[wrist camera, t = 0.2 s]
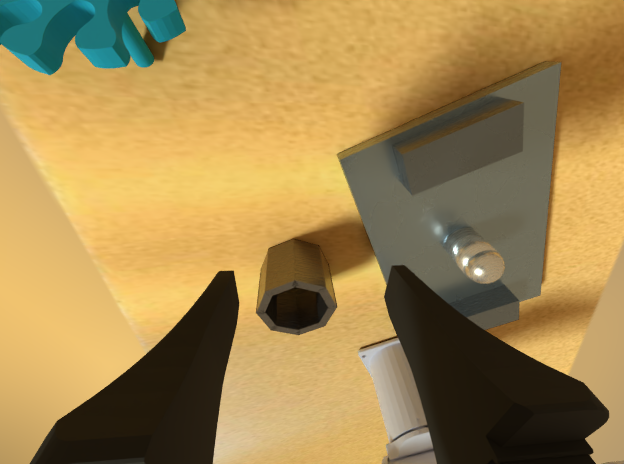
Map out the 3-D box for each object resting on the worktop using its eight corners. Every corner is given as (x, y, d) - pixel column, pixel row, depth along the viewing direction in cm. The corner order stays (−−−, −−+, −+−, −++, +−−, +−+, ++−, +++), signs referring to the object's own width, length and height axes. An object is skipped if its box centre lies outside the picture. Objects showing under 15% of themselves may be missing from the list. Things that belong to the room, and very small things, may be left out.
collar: (335, 276, 26) (344, 319, 22) (281, 296, 27) (280, 341, 22) (311, 231, 23) (317, 271, 18) (251, 255, 24) (244, 299, 19)
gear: (228, -151, 11) (159, 64, 8) (251, 5, 16) (214, 156, 14) (-67, -210, 10) (-217, -2, 8) (64, -29, 16) (-4, 120, 14)
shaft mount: (531, 286, 29) (579, 332, 24) (403, 328, 31) (424, 377, 26) (545, 61, 17) (642, 65, 12) (336, 154, 19) (352, 187, 15)
